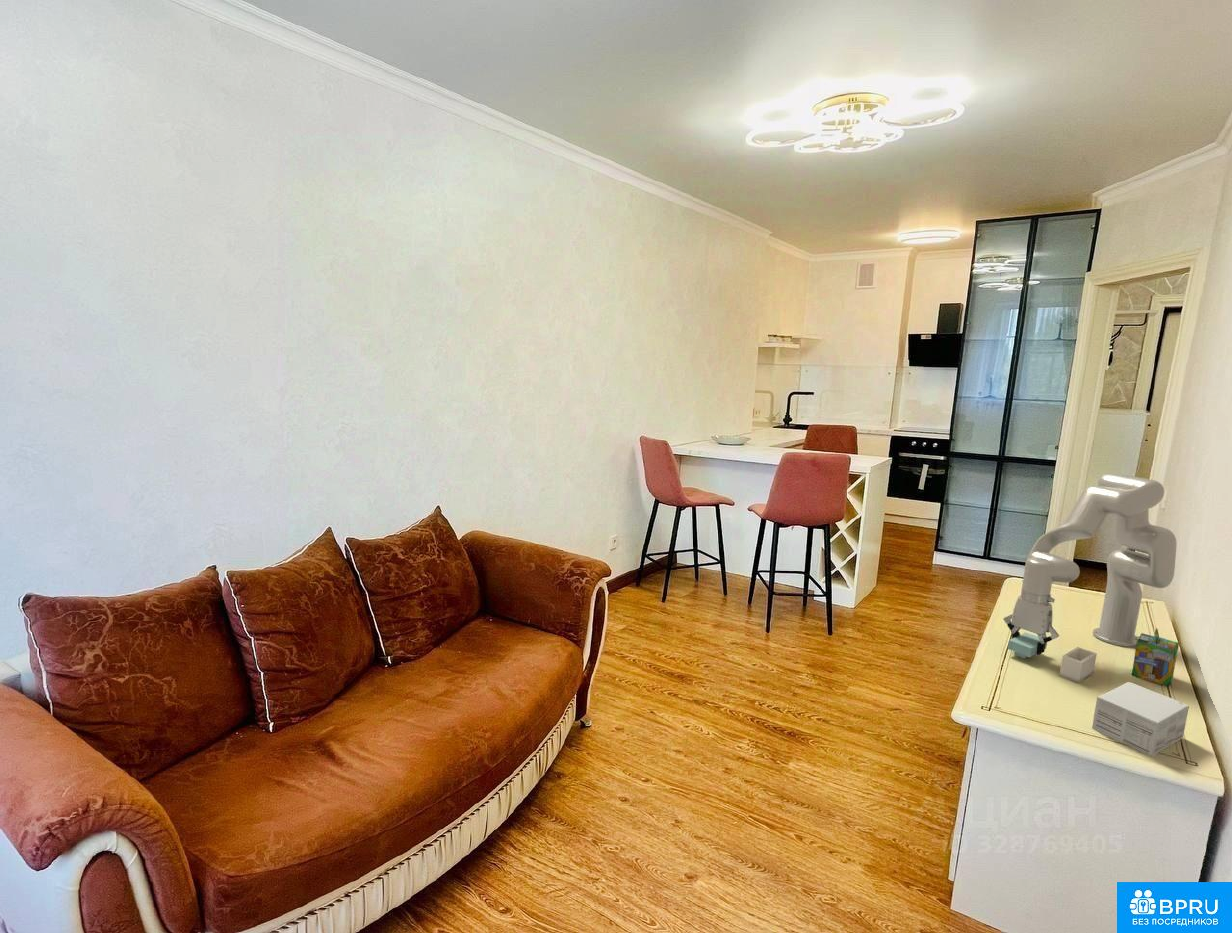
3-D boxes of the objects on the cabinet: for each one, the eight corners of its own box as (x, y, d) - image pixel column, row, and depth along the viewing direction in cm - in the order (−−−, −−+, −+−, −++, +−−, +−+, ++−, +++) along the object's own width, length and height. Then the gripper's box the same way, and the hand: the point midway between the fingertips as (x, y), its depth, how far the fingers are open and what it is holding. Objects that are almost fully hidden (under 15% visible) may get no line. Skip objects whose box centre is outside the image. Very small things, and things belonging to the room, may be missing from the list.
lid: (1023, 645, 204) (1025, 632, 204) (1045, 652, 199) (1047, 639, 198) (1007, 653, 198) (1009, 640, 197) (1029, 661, 193) (1031, 648, 192)
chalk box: (1170, 688, 181) (1179, 641, 178) (1130, 675, 187) (1138, 630, 185) (1173, 677, 187) (1183, 632, 184) (1135, 666, 194) (1143, 622, 191)
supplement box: (1122, 712, 168) (1128, 680, 166) (1183, 739, 156) (1190, 705, 155) (1089, 728, 160) (1095, 695, 158) (1152, 757, 148) (1159, 722, 147)
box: (1074, 666, 192) (1077, 647, 191) (1093, 673, 188) (1096, 653, 187) (1059, 675, 186) (1062, 655, 185) (1078, 683, 182) (1082, 662, 181)
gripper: (1071, 603, 190) (1062, 657, 193) (1011, 585, 204) (1003, 636, 207) (1061, 608, 186) (1052, 663, 189) (1000, 590, 200) (992, 641, 203)
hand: (1027, 648), depth 198 cm, fingers closed on lid, 6 cm apart
